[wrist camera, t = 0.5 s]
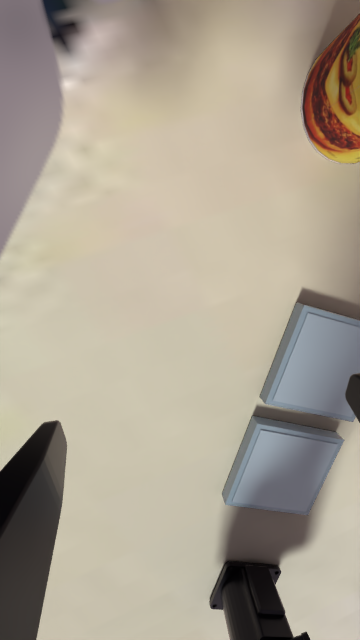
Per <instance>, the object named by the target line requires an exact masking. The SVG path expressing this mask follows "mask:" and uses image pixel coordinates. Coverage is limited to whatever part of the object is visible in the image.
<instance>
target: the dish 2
mask: <svg viewBox="0 0 360 640" xmlns="http://www.w3.org/2000/svg"><path fill="white" fill-rule="evenodd" d="M343 441H344V439H343V438H342V437H341V436H340V435H339V434H338V433H337V432H334V431H328V430H323V429H318V428H313V427H308V426H303V425H298V424H292V423H287V422H282V421H277V420H272V419H267V418H261V417H256V416H252V418H251V421H250V423H249V426H248V428H247V431H246V433H245V436H244V439H243V441H242V444H241V446H240V449H239V451H238V454H237V457H236V459H235V462H234V464H233V467H232V469H231V472H230V475H229V477H228V480H227V482H226V485H225V487H224V490H223V493H222V496H223V499H224V502H225V505H232V506H240V507H247V508H255V509H263V510H271V511H279V512H287V513H294V514H302V515H308V514H309V512H310V510H311V508H312V506H313V504H314V501H315V499H316V497H317V495H318V493H319V491H320V489H321V487H322V485H323V483H324V481H325V479H326V477H327V475H328V472H329V470H330V468H331V466H332V464H333V462H334V460H335V458H336V456H337V454H338V452H339V450H340V448H341V446H342V443H343Z"/></svg>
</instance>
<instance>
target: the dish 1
mask: <svg viewBox="0 0 360 640" xmlns="http://www.w3.org/2000/svg"><path fill="white" fill-rule="evenodd" d="M356 373H360V320H358V319H354V318H351V317H347V316H344V315H340V314H337V313H333V312H330V311H326V310H323V309H319V308H316V307H312V306H309V305H305V304H301V303H298V302H296V305H295V307H294V310H293V313H292V315H291V318H290V320H289V323H288V325H287V328H286V331H285V333H284V336H283V338H282V341H281V343H280V346H279V349H278V351H277V354H276V356H275V359H274V361H273V364H272V367H271V369H270V372H269V374H268V377H267V379H266V382H265V385H264V387H263V390H262V392H261V395H260V398H261V399H262V400H263V402H264V403H265V404H268V405H273V406H278V407H283V408H287V409H292V410H297V411H302V412H307V413H312V414H317V415H322V416H327V417H332V418H336V419H341V420H346V421H351V422H353V421H354V419H355V417H356V416H355V414H354V413H353V411H352V409H351V408H350V406H349V404H348V403H347V401H346V398H345V392H346V388H347V385H348V381H349V378H350V376H351V375H352V374H356Z"/></svg>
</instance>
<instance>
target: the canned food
mask: <svg viewBox="0 0 360 640" xmlns="http://www.w3.org/2000/svg"><path fill="white" fill-rule="evenodd" d="M301 115H302V122H303V127H304V130H305V132H306V135H307V137H308V140H309V141H310V143H311V144H312V146H313V147H314V148H315V150H316V151H317V152H318V153H319V154H321V155H322V156H323V157H325V158H326V159H327V160H330V161H333V162H336V163H339V164H354V163H357V162H360V14H359V15H358V16H357V17H356V18H355V19H354V20H353V21H352V22H351V23H350V24H349V25H348V26H347V27H346V28H345V29H344V30H343V31H342V32H341V33H340V34H339V36H338V37H337V38H336V39H335V40H334V41H333V42H332V43H331V44H330V45H329V46H328V47H327V48H326V49H325V50H324V51H323V52H322V53H321V55H320V56H319V57H318V58H317V59H316V60H315V62H314V64H313V66H312V68H311V69H310V71H309V73H308V75H307V78H306V81H305V85H304V88H303V91H302V101H301Z"/></svg>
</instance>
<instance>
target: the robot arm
mask: <svg viewBox="0 0 360 640" xmlns="http://www.w3.org/2000/svg"><path fill="white" fill-rule="evenodd" d="M345 398H346V401H347V403H348V404H349V406H350V408H351V409H352V411H353V413H354V414H355V416H356V418H357V419H358V421H359V422H360V373H356V374H352V375H351V376H350V378H349V381H348V385H347V388H346V392H345ZM66 453H67V442H66V438H65V435H64V432H63V429H62V426H61V423H60V422H59V421H57V420H56V421H49V422H45V423H43V424H42V425H41V426H40V427H39V428H38V429H37V430H36V431H35V432H34V434H33V435H32V436H31V437H30V438H29V439H28V440H27V442H26V443H25V444H24V445H23V446H22V447H21V448H20V449H19V451H18V452H17V453H16V454H15V455H14V456H13V457H12V459H11V460H10V461H9V462H8V463H7V464H6V465H5V466H4V468H3V469H2V470H1V471H0V640H36V638H37V633H38V628H39V622H40V617H41V612H42V607H43V602H44V597H45V591H46V586H47V581H48V576H49V571H50V565H51V560H52V555H53V550H54V545H55V539H56V534H57V529H58V524H59V519H60V513H61V507H62V500H63V489H64V477H65V465H66ZM280 574H281V570H280V568H279V566H276V565H264V564H253V563H242V562H227V563H226V564H225V566H224V569H223V571H222V573H221V576H220V578H219V580H218V583H217V585H216V588H215V590H214V592H213V595H212V597H211V599H210V607H211V609H221V610H224V614H225V619H226V624H227V628H228V633H229V637H230V640H310V638H309V636H308V634H307V632H304V633H301V635H299V636H296V637H293V634H292V631H291V629H290V626H289V624H288V621H287V618H286V616H285V610H284V607H283V604H282V602H281V599H280V597H279V594H278V591H277V589H276V586H275V584H276V582H277V580H278V578H279V576H280Z"/></svg>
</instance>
